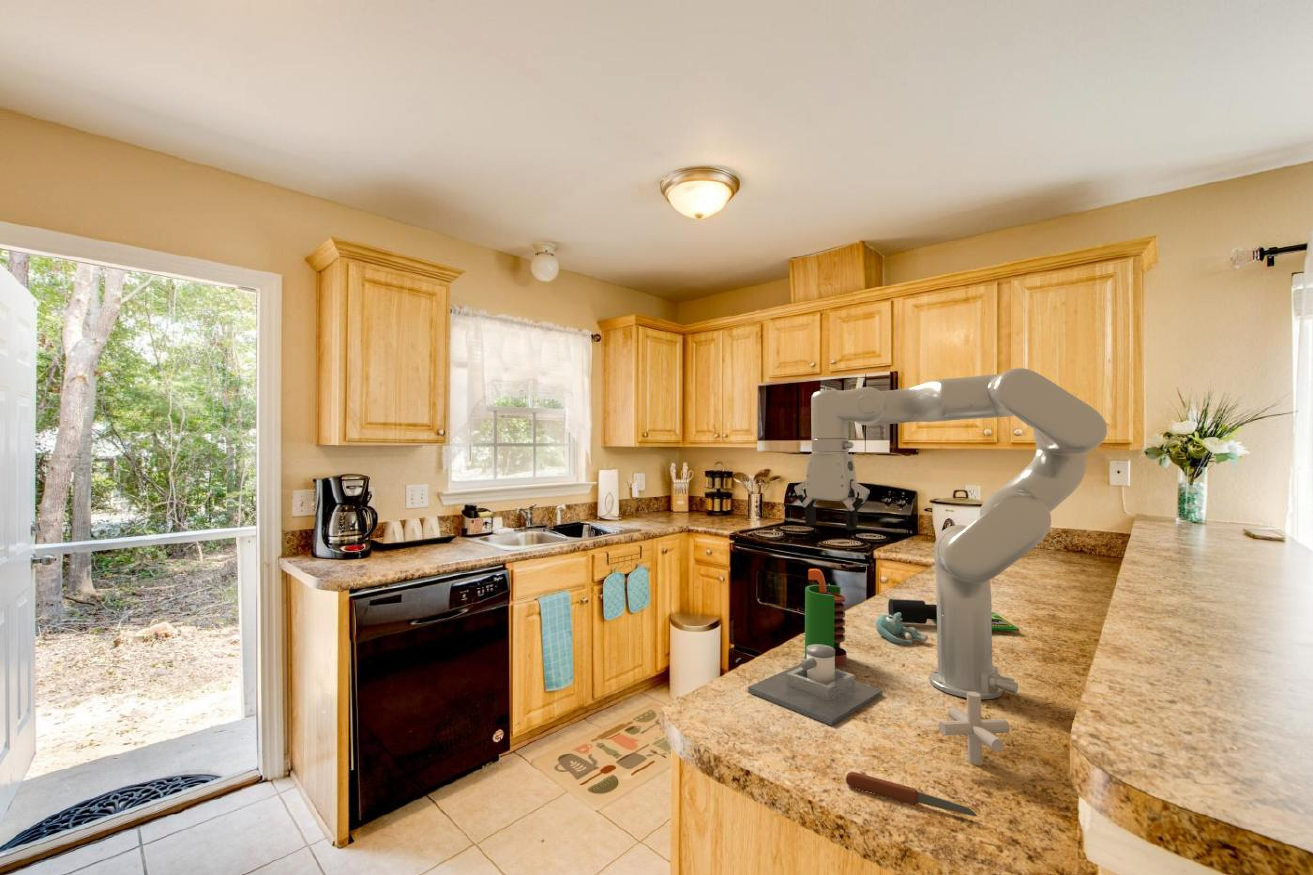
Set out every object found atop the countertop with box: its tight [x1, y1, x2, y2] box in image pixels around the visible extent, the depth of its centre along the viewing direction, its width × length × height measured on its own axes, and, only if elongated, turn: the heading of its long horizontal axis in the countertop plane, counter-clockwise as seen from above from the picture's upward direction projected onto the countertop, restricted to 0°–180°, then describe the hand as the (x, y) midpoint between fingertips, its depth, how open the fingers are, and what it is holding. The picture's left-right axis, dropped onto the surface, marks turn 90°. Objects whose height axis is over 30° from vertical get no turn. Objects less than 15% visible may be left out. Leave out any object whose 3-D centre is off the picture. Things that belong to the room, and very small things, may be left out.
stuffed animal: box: [875, 612, 928, 645], centre depth 137 cm, size 11×7×12 cm
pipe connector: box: [938, 691, 1011, 766], centre depth 82 cm, size 10×10×10 cm
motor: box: [804, 568, 847, 668], centre depth 123 cm, size 10×9×20 cm
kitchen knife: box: [845, 771, 978, 817], centre depth 73 cm, size 16×1×2 cm, turn 60°
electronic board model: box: [887, 598, 1020, 632], centre depth 150 cm, size 30×7×15 cm
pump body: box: [800, 644, 836, 685], centre depth 107 cm, size 5×8×7 cm
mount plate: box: [747, 663, 883, 727], centre depth 106 cm, size 18×18×3 cm
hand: (830, 527), depth 118 cm, fingers open, 9 cm apart
